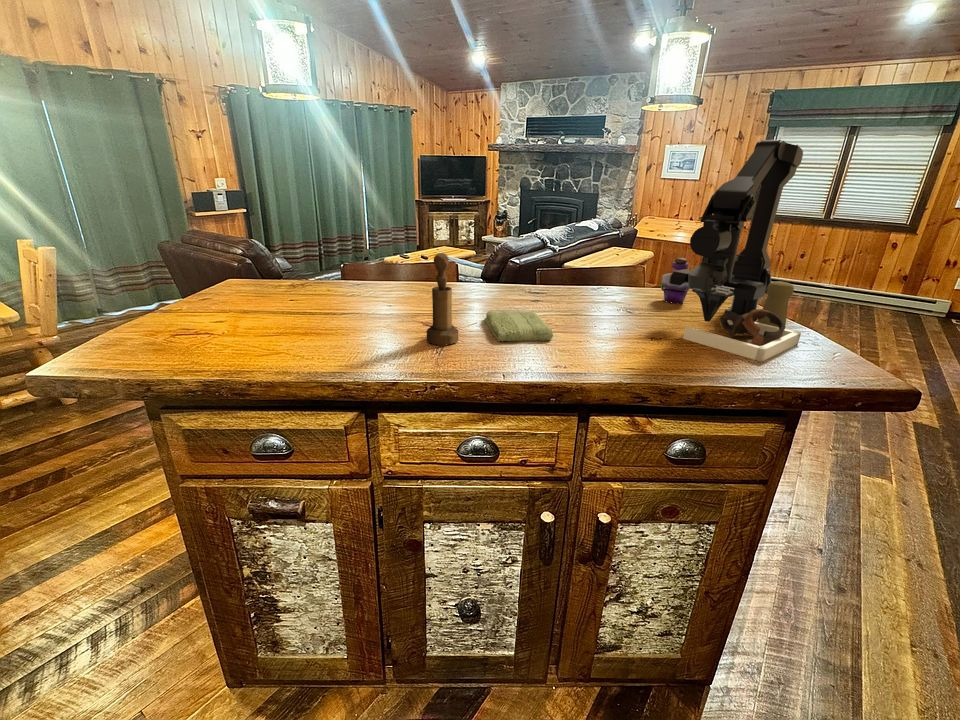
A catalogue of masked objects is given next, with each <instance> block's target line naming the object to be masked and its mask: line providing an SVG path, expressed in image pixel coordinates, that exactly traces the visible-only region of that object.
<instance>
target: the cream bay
mask: <svg viewBox="0 0 960 720" xmlns="http://www.w3.org/2000/svg"><path fill="white" fill-rule="evenodd" d="M722 316H723V314H722V315H721V317H722ZM727 322H728V323H729V325H732V324H733V322H732V321H731V320H727ZM754 323H755V324H756V325H757V326H758V327H759V328H760V331H759V332H758V333H759V334H762V335H764V332H765V331H769V332H776V331H778V330H779V327H775V326H771V325H766V324H762V323H758V322H757V321H755V322H754ZM720 327H722V326H721V323H720ZM801 335H802V333H801V332H799V331H796V330H790V329H787V328H785V330H784V331H783V335H782V337H781V338H779V339H777V340H774V341H772V342H770V343H768V344H765V345H763V346H762V345H761V346H757V345H753V344H750V342H745V341H741V340H738V339H734V338H732V337H727V336H724V335H720V334H715V333H712V332H709V331H704V330H701V329H697V328H694V327H690V326H686V327H685V328H684V333H683V340H686V341H690V342H693V343H696V344H700V345H703V346H707V347H709V348H714V349H716V350H721V351H724V352H727V353H731V354H733V355H737V356H741V357H744V358H747V359H750V360H754V361H758V362H761V363H762V362H764V361H766V360H767V359H768V360H769V359H770V358H772V357H774V356H776V355H779V354H780V353H782V352H785V351H786V350H788V349H790V348H792V346H793V347H795V346H796V344H797V345H799V342H800V339H801ZM794 345H795V346H794Z"/></svg>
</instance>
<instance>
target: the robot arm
mask: <svg viewBox="0 0 960 720" xmlns="http://www.w3.org/2000/svg"><path fill="white" fill-rule="evenodd" d="M803 156H804V150H803V149H802V148H801V147H800V146H799V144H792V143H787V142H786V141H785V140H781V139H762V140H760V141H757V142H756V143H755V145H754V148H753V152H752V153H751V155H749V157H748V159H747V160H746V161H745V163H744V164H743V165H742V167H741V169H740V170H739V171H738V173H737V174H736V176H735V177H734V178H733V179H730V180H728V181H726V182H724V183H723V184H721V186H719V187H718V189H716V191H715V192H714V193H713V194H712V195H711V196H710V199H709V201H708V203H707V205H706V208H705V209H704V211H703V214H702V216H701V218H700V220H699V221H700V223H703V224H702V227H699V228H697V229H696V230H694V232H693V233H692V235H691V237H690V239H689V245H690V249H691V250H692V252H693V253H695V254H696V255H697V256H699V257H702V258H701V261H700V263H699V265H697V266H695V267H694V268H693V269H691V270H690V269H682V270H678V271H674V270H673V272H671V273H672V274H671V275H670V279H669V283H670V284H674V285H679V286H681V285H683V284H684V283H685V282H688V287H689V288H690V289H691V292H692V293H695V294H696V295H697V297H698V298H699V301H700V304H701V310H702V314H703V320H704V322H706V323H709V322H711V320H713V318H714V316H715V315H716V313H717V312H718V311H719V310H720V308H721V306H722V305H723V304H724V302H726V301H727V300H728V298H730V297H732V301H731V305H730V308H726V309H724V312H725V313H728V312H733V313H736V314H738V315H744V314H746V313H750V312H751V311H752V310H755V309H758V308H757V307H758V304H759V299H760V298H763V297H764V296H765V294H767V287H768V285H769V284H770V283H771V282H772V275H771V269H770V266H771V259H770V257H769V254H768V251H767V249H768V244H769V242H770V237H771V235H772V230H773V227H774V222H775V219H776V215H777V211H778V207H779V204H780V201H781V197H782V194H783V190H784V187H785V185H787V183H789V181H791V179H792V178H793V177H794V176H795V175H796V172H797V168H798V167H799V166H800V165H801V163H802V161H803V160H802V159H803ZM759 186H760V189H759V191H758V192H759V193H758V195H757V199H756V196H755V192H756V191H757V189H758V187H759ZM752 212H753V216H752V219H751V222H750V228H749V230H748V234H747V239H746V242H745V246H744V248H743V250H741V251H740V252H739V253H738V250H739V244H740V239H741V236H742V235H741V234H742V231H743V228H744V223H747V222H748V220H749V218H750V216H751V215H752Z"/></svg>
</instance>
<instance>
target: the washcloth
mask: <svg viewBox="0 0 960 720" xmlns="http://www.w3.org/2000/svg"><path fill="white" fill-rule="evenodd" d="M485 322H486V323H485ZM484 323H485V324H486V326H487V327H488V329H489V330H490V332H491V334H492V335H493V336H494V337H496V338H497V339H496V338H495V339H496V340H497V342H500V341H502V342H501V343H504V342H503V341H509V342H516V341H519V343H520V342H522V341H525V342H526V341H527V342H528V341H530V340H531V341H533V342H537V340H538V341H539V342H540V341H541V342H545V341H547V342H548V341H551V340H552V338H553V337H554V333H553V330H552V328H551V327H550V326H549V325H548V324H546V323H545V321H544V320H543V319H542V318H541V317H540V316H539V314H538V313H537V312H534V311H520V310H516V311H515V310H505V311H501V312H500V311H499V312H498V311H493V310H490V311H488V312H486V317H485V318H484Z"/></svg>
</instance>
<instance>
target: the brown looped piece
mask: <svg viewBox="0 0 960 720" xmlns="http://www.w3.org/2000/svg"><path fill="white" fill-rule="evenodd" d="M722 315H723V316H722ZM722 315H721V316H720V318H719V320H720V321H719V322H720V324H721V326H720V327H722V329H723V330H724V331H726V332H727V334H728V336H729V338H733V337H734V336H736V335H741V334H743V335H744V334H745V335H747V336H750V337H753V338H752V340H751V341H750V342H749V343H750V344H753V345H757V346H763V345H765V344H768V343H770V342H772V341H774V340H777V339H779V338H781V337H782V335H783V331H784V330H785V329H786V326H785V325H784V323H783V321H782V319H781V318H780V317H779V316H777V315H776V314H774V313H772V312H770V311H767V310H763V308H756V309H755V310H752V311H751V312H750V313H746V314H744V315H738V314H736V313H733V312H725V313H723V314H722ZM765 316H767V317H768V318H769V319H770V322H771V323H773V324H775V325H778V327H779V330H778V331H776V332H769V331H765V332H764V335H762V334H759V333H758V332H759V331H760V328H759V327H758V326H757V325H756V324H755V323H754V322H757V321H758V320H759V319H763V318H765ZM727 320H731V321H732V322H733V324H732V325H729V323H728V322H727Z"/></svg>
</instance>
